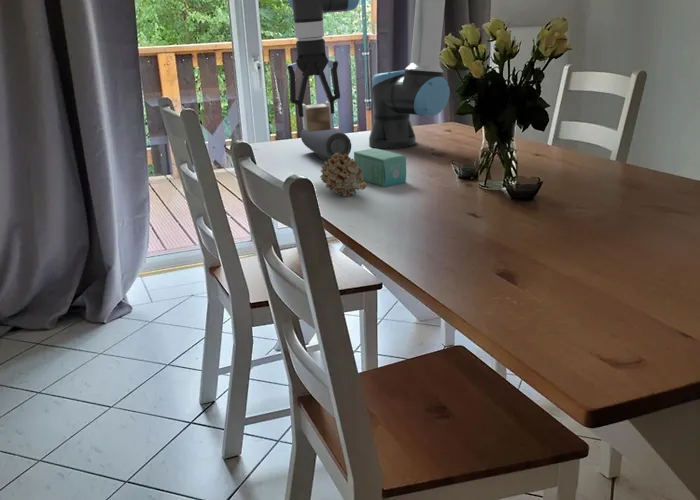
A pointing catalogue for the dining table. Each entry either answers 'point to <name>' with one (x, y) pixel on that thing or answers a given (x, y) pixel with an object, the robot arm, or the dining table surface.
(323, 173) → the pine cone
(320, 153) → the bluetooth speaker
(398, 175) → the box
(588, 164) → the dining table surface
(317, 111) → the walnut cube
